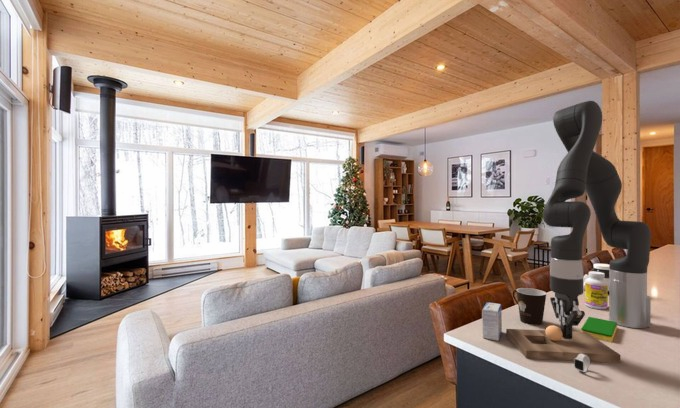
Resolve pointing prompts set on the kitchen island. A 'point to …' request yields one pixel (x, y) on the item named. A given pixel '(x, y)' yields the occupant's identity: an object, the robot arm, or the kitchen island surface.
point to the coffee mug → (530, 305)
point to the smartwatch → (582, 362)
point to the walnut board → (561, 346)
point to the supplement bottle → (596, 291)
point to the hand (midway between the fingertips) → (566, 337)
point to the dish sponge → (600, 328)
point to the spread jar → (599, 268)
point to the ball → (553, 333)
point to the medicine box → (492, 321)
